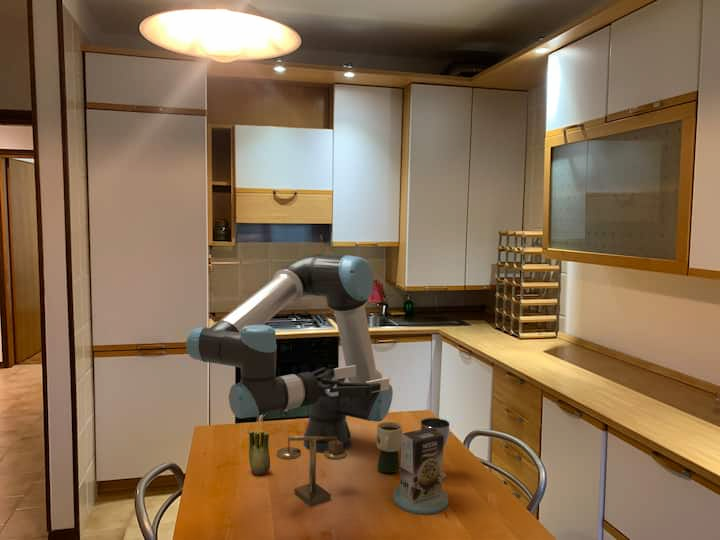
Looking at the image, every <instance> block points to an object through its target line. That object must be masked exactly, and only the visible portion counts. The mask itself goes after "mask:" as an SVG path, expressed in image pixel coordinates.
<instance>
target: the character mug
mask: <svg viewBox="0 0 720 540" xmlns="http://www.w3.org/2000/svg"><path fill="white" fill-rule="evenodd" d="M376 426H377V427H376V447H377V448H378V449H379V450H380V451H379V453H378V454H379V456H378V461H377V470H378V471H380V472H382V473H388V474H389V473H396V472H399V471H400V470H401V465H400V458H399V457H400V456H399V452H398V451H400V450H401V448H402V433H403V425H401V424H400V423H398V422H392V421H383V422H380V423H378V424H377V425H376Z"/></svg>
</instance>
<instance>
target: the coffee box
mask: <svg viewBox="0 0 720 540" xmlns="http://www.w3.org/2000/svg"><path fill="white" fill-rule="evenodd" d="M443 445H444V435H442V434H440V433H438V432H436V431H434V430H432V429H430V428H427V429H422V430H421V429H417V430H413V431H408V432H402V447H401V449H400V450H401V452H400V453H401V455H400V475H399V476H400V477H399V478H400V479H399V487H400V494H401V495H402V496H404V497H405V498H406V499H407V500H409V501H410V502H411V503H412V504H414V503H418V502H422V501H425V500H429V499H432V498H436V497H440V496H442V490H443V479H442V471H443V470H444V469H443V464H444V447H443ZM444 446H445V445H444Z"/></svg>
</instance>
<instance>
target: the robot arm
mask: <svg viewBox="0 0 720 540" xmlns="http://www.w3.org/2000/svg"><path fill="white" fill-rule="evenodd" d="M374 277H375V276H374V272H373V269H372V266H371V264H370V263H369V262H368V261H367V260H366V259H365V258H363V257H360V256H353V255H351V254H347V255H339V254H338V255H337V254H321V253H320V254H319V253H313V254H308V255H305V256H302V257H300V258H297V259H295V260H293V261H291V262H289V263H288V264H286V265H284V266H283V267H281V268H279V270H278V271H276V272H275V273H274V274H273V276H272V280H270V281H269V282H268V283H267V284H265V285H264V286H263V287H261V288H260V289H259V290H257V291H256V292H255V293H254V294H252V295H251V296H250V297H248V298H247V299H245V301H243V302H242V303H240V304H239V305H238V306H236V307H235V308H234V309H233V310H232V311H230V312H229V313H227V314H226V315H225V316H224V317H222V318H221V319H220V320H218V321H217V322H216V323H215V324H213V325H212V326H210V327H206V326H204V327H200V326H199V327H195V328H194V329H192V330H191V331H190V332H189V334H188V336H187V338H186V343H185V345H186V346H185V348H186V352H187V354H188V356H189V357H190V358H192V359H193V360H197V361H200V362H203V363H211V364H217V365H221V366H222V365H223V366H230V367H235V368H239V369H240V381H239V382H237V383H235V384H233V385H232V386H231V387H230V389H229V393H228V403H229V407H230V410H231V412H232V414H233V416H234V417H236V418H238V419H247V418H248V419H249V418H257V417H260V416H264V415H268V414H272V413H277V412H282V411H284V412H286V413H287V412H288V411H289V410H292V409H297V408H299V407H307V406H309V408H308V410H309V411H308V412H309V413H308V416H309V418H308V422H307V425H306V428H305V432H304V433H303V434H304V435H303V436H337V440H339V441H340V442H342V443H343V450H346V449H348V448H349V447H350V446H351V444H352V435H351V431H350V428H349V425H348V421H347V417H350V418H355V419H359V420H363V421H364V420H365V421H369V422H382V421H383V420H385V418H386V417H387V415H388V414H389V411H390V407H391V405H392V401H393V391H394V390H393V387H392V385H391V384H390V378H389V377H383V375H382V373H381V372H380V371H379V370H377V368H376V363H375V357H374V352H373V346H372V345H373V344H372V341H371V335H370V331H369V330H370V329H369V323H368V318H367V313H366V307H365V305H366V304H367V303H368V301H369V299H370V297H371V295H372V294H373V291H374V288H375V287H374V284H373V283H374V282H375V281H374V279H375V278H374ZM306 296H307V297H308V296H316V297H325V298H326V299H325V300H326V304H327V307H328V308H329V310H330V311H333V312H334V316H335V321H336V324H337V325H336V326H337V330H338V331H337V332H338V335H339V339H340V340H339V341H340V346H341V349H342V355H343V360H344V364H345V366H341V367H336V368H333V367H334V366H333V365H328V367H325V366H323V367H321V368H318V369H316V370H313V371H312V372H310V371H306V372H299V373H296V374H294V373H293V374H292V373H290V374H286V375H282V376H281V375H279V376H277V348H278V345H277V339H276V330H275V328H274V327H272V326H270V325H266V323H268V322H269V321H270V320H271V319H273V317H275V316H276V315H277V313H279V312H280V311H281V310H283V308H285V307H286V306H287V305H288V304H290V303H291V302H296V301H298V300H300V299H301V298H303V297H306ZM330 441H334V440H316V452H319V453H324V452H325V451H326V450H328V442H330ZM303 446H304V447H306V448H307V449H309V450H310V440H303Z"/></svg>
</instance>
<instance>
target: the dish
mask: <svg viewBox="0 0 720 540" xmlns="http://www.w3.org/2000/svg"><path fill="white" fill-rule="evenodd" d="M393 502H394V504H395V506H397V507H398V508H399V509H401V510H403V511H405V512H408V513H411V514H414V515H423V516H425V515H434V514H438V513H441V512H443V511H445V510H446V509H447V508H448V506H449V495H448V492H446V491H445V490H444V489H442V496H440V497H436V498H432V499H429V500H425V501H422V502H418V503H414V504H412V503H411V502H410V501H409V500H407V499H406V498H405V497H404V496H402V495H401V494H400V486H398V487H397V488H395V490H394V491H393Z"/></svg>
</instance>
